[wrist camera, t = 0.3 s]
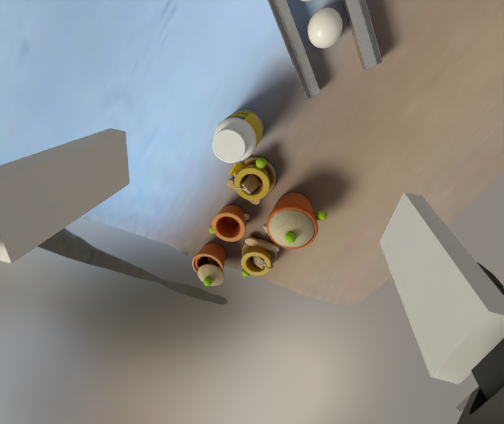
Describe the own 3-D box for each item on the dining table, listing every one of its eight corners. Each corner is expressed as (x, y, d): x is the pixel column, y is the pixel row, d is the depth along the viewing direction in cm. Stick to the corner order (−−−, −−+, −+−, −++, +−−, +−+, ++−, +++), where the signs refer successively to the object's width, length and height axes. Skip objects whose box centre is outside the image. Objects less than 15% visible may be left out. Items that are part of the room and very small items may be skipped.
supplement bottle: (255, 102, 38) (240, 115, 29) (269, 138, 40) (259, 160, 32) (221, 117, 40) (198, 133, 31) (237, 151, 42) (219, 175, 33)
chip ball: (302, 22, 32) (302, 18, 29) (334, 2, 31) (337, -4, 28) (314, 54, 34) (315, 54, 31) (345, 37, 32) (349, 35, 29)
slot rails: (252, -42, 30) (248, -49, 28) (332, -103, 27) (334, -117, 25) (307, 97, 36) (306, 99, 34) (378, 61, 33) (383, 61, 31)
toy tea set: (246, 141, 41) (231, 162, 33) (333, 190, 43) (340, 223, 34) (189, 253, 54) (167, 289, 46) (256, 288, 56) (248, 329, 48)
